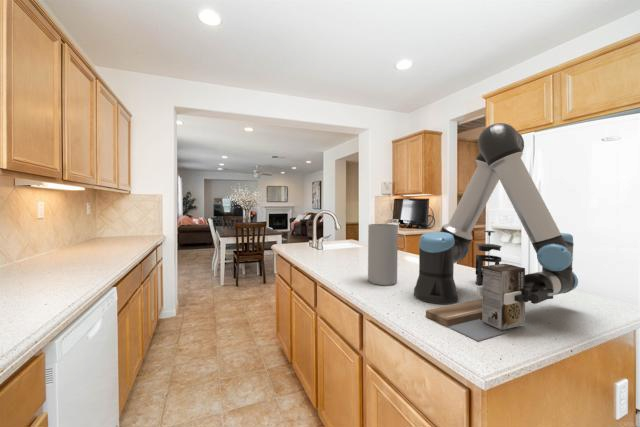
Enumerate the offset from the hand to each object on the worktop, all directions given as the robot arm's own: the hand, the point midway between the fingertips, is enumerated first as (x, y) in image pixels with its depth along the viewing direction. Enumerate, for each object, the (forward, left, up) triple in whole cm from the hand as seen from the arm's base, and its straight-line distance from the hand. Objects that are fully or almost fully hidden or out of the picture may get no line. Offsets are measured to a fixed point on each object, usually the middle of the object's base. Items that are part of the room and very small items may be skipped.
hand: (491, 295), depth 79 cm
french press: (-29, +40, -10) cm, 51 cm away
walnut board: (-10, +5, -9) cm, 15 cm away
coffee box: (0, +5, -9) cm, 10 cm away
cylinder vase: (-51, +2, -10) cm, 52 cm away
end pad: (-1, -4, -9) cm, 10 cm away
